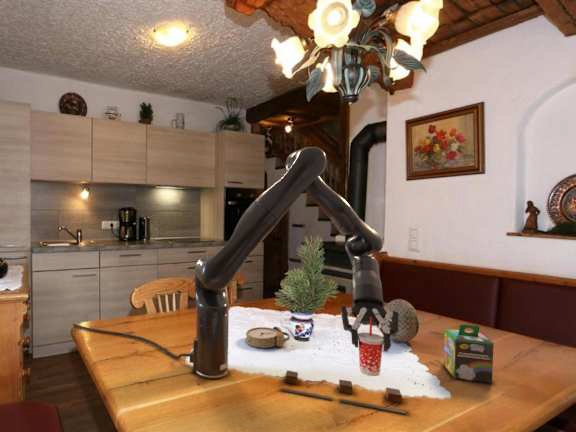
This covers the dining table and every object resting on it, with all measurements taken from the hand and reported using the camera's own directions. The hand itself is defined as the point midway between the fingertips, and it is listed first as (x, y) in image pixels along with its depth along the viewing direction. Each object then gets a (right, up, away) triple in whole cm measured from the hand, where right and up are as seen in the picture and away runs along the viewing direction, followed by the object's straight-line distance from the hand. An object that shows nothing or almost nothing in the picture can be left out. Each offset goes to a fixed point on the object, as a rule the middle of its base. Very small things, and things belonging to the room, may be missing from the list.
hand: (371, 347), depth 88 cm
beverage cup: (+1, -7, +2) cm, 7 cm away
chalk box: (+35, -13, +14) cm, 39 cm away
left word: (-15, -12, +5) cm, 20 cm away
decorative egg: (+30, -12, +39) cm, 51 cm away
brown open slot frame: (-1, -13, -1) cm, 13 cm away
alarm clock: (-18, -12, +35) cm, 41 cm away
